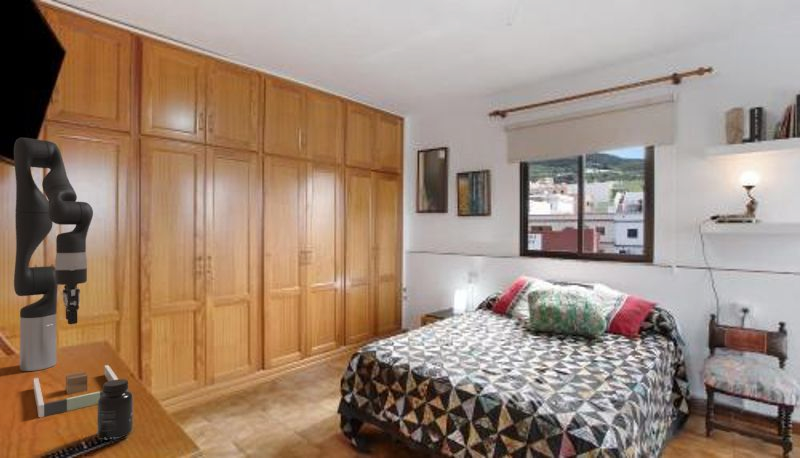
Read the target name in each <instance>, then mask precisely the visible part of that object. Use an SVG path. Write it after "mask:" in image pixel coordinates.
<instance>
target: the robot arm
mask: <svg viewBox="0 0 800 458" xmlns="http://www.w3.org/2000/svg"><path fill="white" fill-rule="evenodd" d="M13 162H14V170H15V171H14V173H15V184H16V188H15V189H16V190H15V191H16V194H15V198H16V199H15V240H16V243H15V244H16V245H15V246H16V247H15V248H16V249H15V261H14V262H15V263H14V274H13V275H14V276H13V288H14V292H15V294H16V295H17V296H19V297H29V296H41V295H42V297H41V298H40V299H38V300H36V301H35V302H32V303H29V304H27V305H25V306H23V307H22V308H20V311H19V370H20V371H23V372H34V371H41V370H45V369H49V368H52V367H54V366H56V365H57V329H58V327H57V310H58V309H57V307H58V305H57V304H58V288H59V287H58V286H61V285H63V286H64V287H63V288H64V289H63V290H62V296H63V303H64V307H65V319H66V320H67V324H68V325H76V324H77V323H78V311H79V309H80V306H79V304H80V300H81V299H80V296H81V289H80V288H78V285H79V284H85V283H87V282H88V267H87V266H88V259H87V258H88V257H87V245H86V244H87V242H86V241H87V236H88V232H89V229H90V225H91V222H92V219H93V216H94V211H93V207H92V206H91V204H90V203H88V202H87V201H86V202H85V201H77V198H78V197H77V193H76V191H75V189H74V187H73V186H72V184H71V182H70V180H69V177H68V175H67V171H66V168H65V163H64V161H63V156H62V154H61V150H60V148H59V146H58V145H57V144H56V143H55V142H52V141H49V140H44V139H37V138H36V139H35V138H30V137H18V138H17V139H16V140H15V142H14V146H13ZM32 168H37V169H48V170H49V172H47V174H46V175H45V176H44V177H43V179H42V184H41V185H42V191H43V192H44V194H45V195H44V194H43V192H42V191H41V190H40V188H39V187H38V186H37V183H36V182H35V180H34V178H33V174H32ZM53 223H54V224H55V225H61V226H62V225H63V226H64V225H74V226H75V227H74V228H73V230H71V231H68V232H61V233H59V234H57V236H56V237H55V238H56V240H55V242H56V243H55V244H56V247H55V248H56V251H55V253H56V255H55V260H54V262H55V263H54V266H47V265H46V266H30V262H31V259H32V256H33V255H34V253H35V251H36V250H37V248H38V247H39V246H40V244H42V242H44V240H45V238H47V236H48V235H49V234H50V232H51V230H52V229H53Z"/></svg>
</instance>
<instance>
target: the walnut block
mask: <svg viewBox="0 0 800 458" xmlns="http://www.w3.org/2000/svg"><path fill="white" fill-rule="evenodd" d="M65 391H66V395H68V396H69V395H73V394H78V393H83V392H87V391H88V374H87V372H86V371H80V372H75V373H74V372H72V373H69V374H65Z"/></svg>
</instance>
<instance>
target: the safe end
mask: <svg viewBox="0 0 800 458" xmlns="http://www.w3.org/2000/svg"><path fill="white" fill-rule="evenodd" d="M99 398H100V392H99V391H95V392H90V393H85V394H80V395H76V396H71V397H67V411H66V412H70V411H75V410H77V409H78V410H79V409H83V408H87V407H91V406H96V405H98V400H99Z"/></svg>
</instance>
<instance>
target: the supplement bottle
mask: <svg viewBox="0 0 800 458" xmlns="http://www.w3.org/2000/svg"><path fill="white" fill-rule="evenodd" d="M102 391H103V394H104V395H102V396H101V397H100V398H99V400H98V404H97V423H96V424H97V427H96V428H97V439H99V438H104V437H106V438H110V437H118V436H123V435H127V436H128V435H129V434H131V432H132V431H133V428H134V425H133V424H134V394H133V393H132V391H129V380H128V379H124V378H122V379H121V378H120V379H119V378H118V380H112V381H106V382H104V384H103V385H102Z"/></svg>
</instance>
